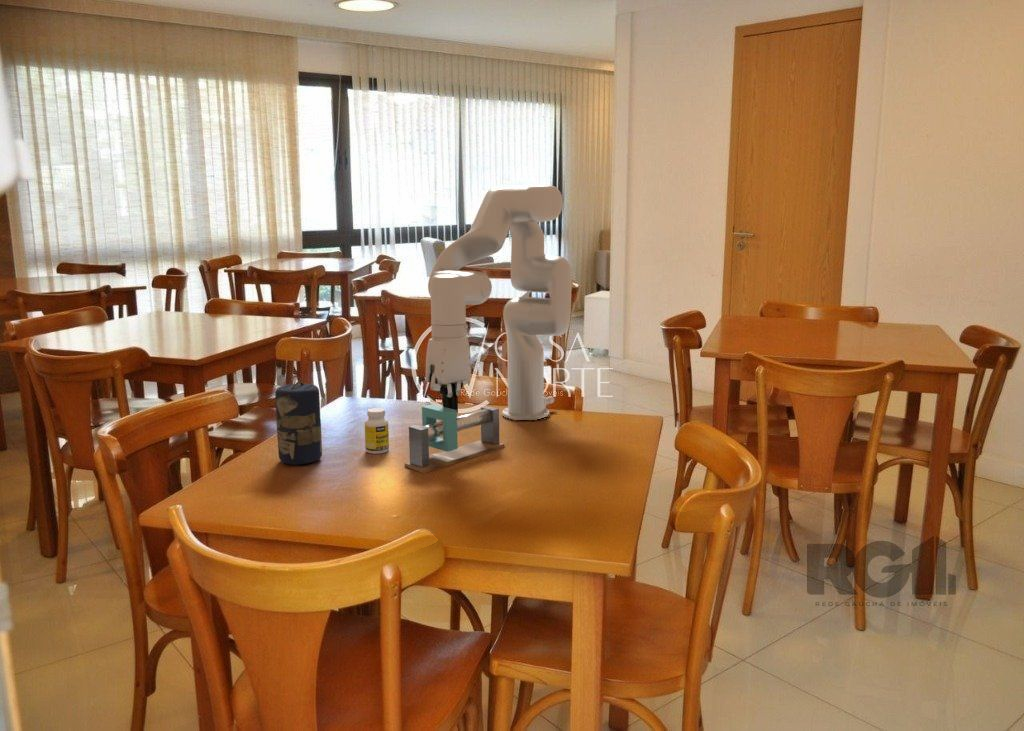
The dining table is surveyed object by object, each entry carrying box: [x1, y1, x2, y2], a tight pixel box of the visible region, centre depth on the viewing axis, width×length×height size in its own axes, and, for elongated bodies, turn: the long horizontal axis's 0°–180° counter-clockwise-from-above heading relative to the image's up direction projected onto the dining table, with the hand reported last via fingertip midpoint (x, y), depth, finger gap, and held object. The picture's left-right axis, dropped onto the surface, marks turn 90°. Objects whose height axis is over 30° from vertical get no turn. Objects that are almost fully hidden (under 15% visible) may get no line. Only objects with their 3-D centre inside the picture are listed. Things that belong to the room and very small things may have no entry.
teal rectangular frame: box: [421, 403, 459, 452], centre depth 186 cm, size 3×8×9 cm, turn 47°
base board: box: [404, 439, 506, 474], centre depth 191 cm, size 25×6×1 cm, turn 137°
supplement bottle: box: [364, 407, 390, 455], centre depth 195 cm, size 5×5×10 cm
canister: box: [274, 381, 323, 465], centre depth 187 cm, size 10×10×18 cm
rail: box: [408, 405, 500, 468], centre depth 190 cm, size 24×4×9 cm, turn 137°
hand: (450, 412), depth 188 cm, fingers closed
